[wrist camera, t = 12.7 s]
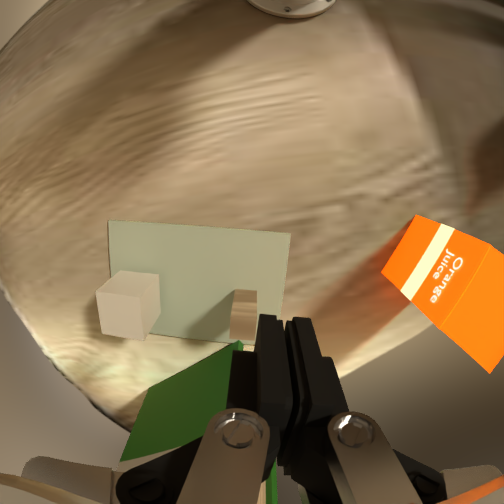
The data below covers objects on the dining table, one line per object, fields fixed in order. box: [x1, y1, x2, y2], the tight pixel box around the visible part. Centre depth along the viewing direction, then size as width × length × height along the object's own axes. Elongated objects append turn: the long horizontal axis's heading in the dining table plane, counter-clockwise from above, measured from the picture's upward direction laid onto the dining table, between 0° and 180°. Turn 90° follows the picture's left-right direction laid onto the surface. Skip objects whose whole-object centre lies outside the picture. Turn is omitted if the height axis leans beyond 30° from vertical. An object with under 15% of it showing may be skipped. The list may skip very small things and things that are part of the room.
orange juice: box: [381, 215, 504, 373], centre depth 25 cm, size 8×9×20 cm
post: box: [229, 289, 257, 341], centre depth 33 cm, size 3×3×7 cm
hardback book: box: [116, 340, 278, 504], centre depth 29 cm, size 18×7×24 cm, turn 126°
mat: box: [108, 220, 291, 345], centre depth 36 cm, size 15×22×1 cm
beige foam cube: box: [96, 270, 161, 341], centre depth 32 cm, size 5×5×7 cm
